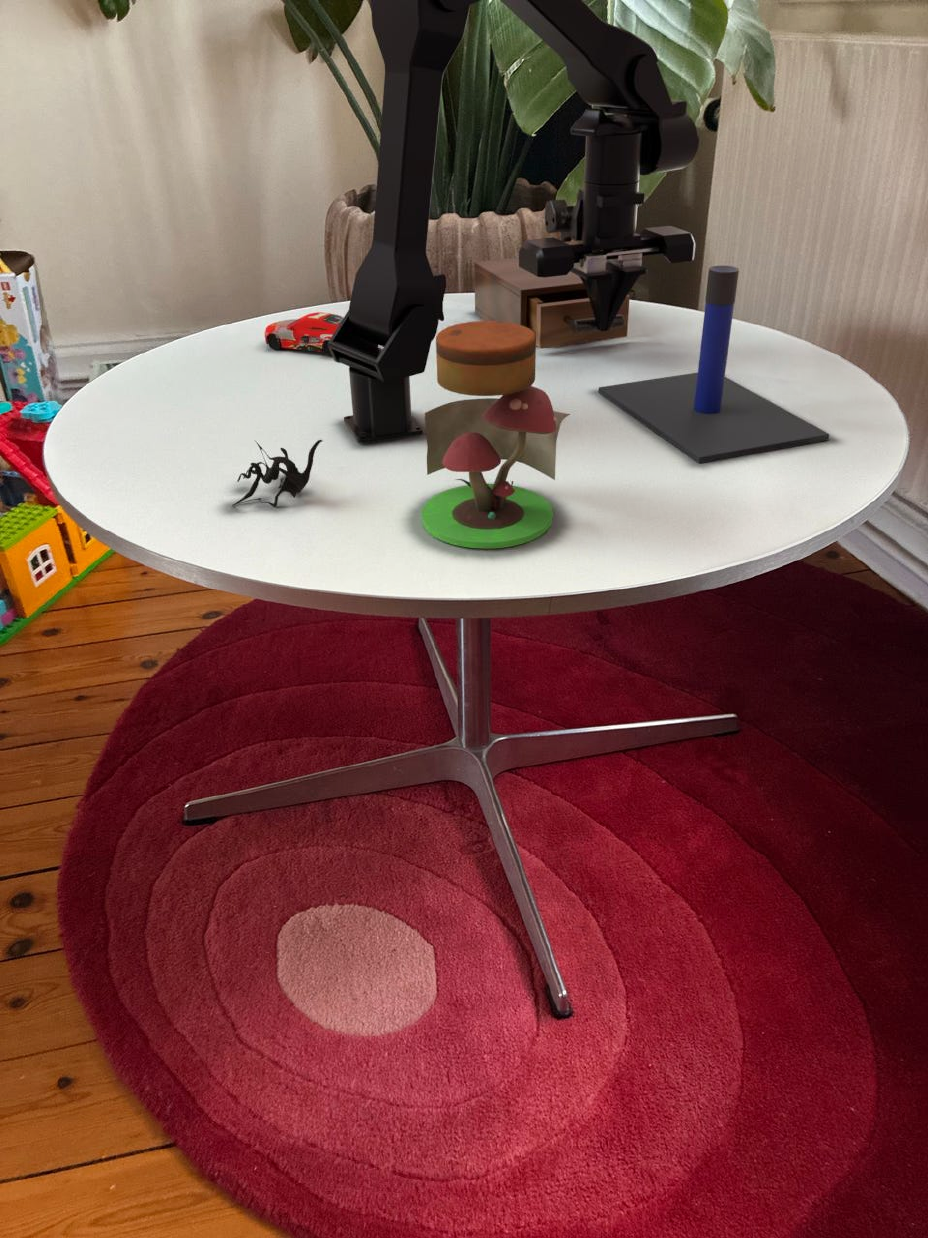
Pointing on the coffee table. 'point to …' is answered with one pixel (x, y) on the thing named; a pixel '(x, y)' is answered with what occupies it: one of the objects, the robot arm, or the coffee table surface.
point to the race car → (304, 332)
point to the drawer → (570, 319)
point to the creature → (292, 480)
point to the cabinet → (513, 289)
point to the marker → (715, 337)
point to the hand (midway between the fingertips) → (603, 330)
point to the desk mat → (711, 418)
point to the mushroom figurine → (489, 436)
